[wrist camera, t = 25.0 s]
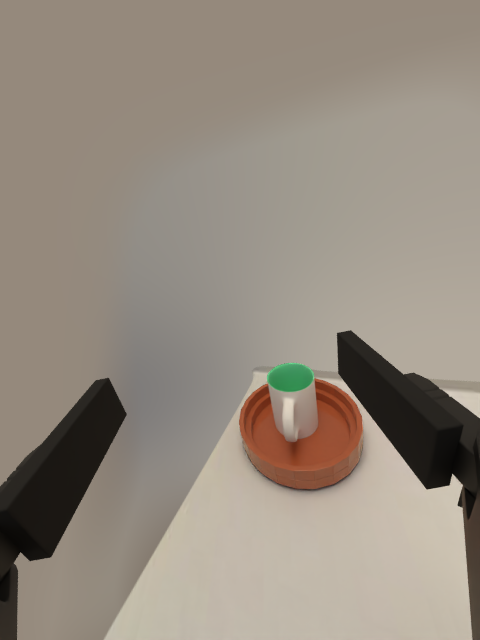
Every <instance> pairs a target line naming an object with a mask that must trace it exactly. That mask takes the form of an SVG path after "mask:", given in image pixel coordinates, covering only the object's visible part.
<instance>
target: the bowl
mask: <svg viewBox="0 0 480 640" xmlns="http://www.w3.org/2000/svg"><path fill="white" fill-rule="evenodd" d="M314 380H315V391H316V402H317V413H318V427H317V429H316V431H315V432H314V433H313V434H312V435H310V436H309V437H306V438H302V439H297V441H296V442H289V441H286V440H285V437H284V435H283V434H281V433H280V432H279V431H278V429H277V428H276V425H275V420H274V414H273V409H272V404H271V398H270V393H269V387H268V383H267V384H265V385H263V386H261V387H260V388H259V389H257V390H256V391H254V392H253V393H252V394H251V395H250V397H249V398H248V399H247V400H246V401H245V403H244V405H243V407H242V409H241V414H240V420H239V425H240V431H241V436H242V440H243V444H244V447H245V451H246V453H247V455H248V456H249V458H250V460H251V462H252V463H253V465H254V466H255V467H256V468H257V469H258V470H259V471H260V472H261V473H262V474H263V475H265V476H266V477H268V478H270V479H271V480H273V481H275V482H276V483H279V484H282V485H285V486H289V487H292V488H296V489H318V488H321V487H325V486H329V485H332V484H335V483H336V482H338V481H340V480H341V479H343V478H344V477H346V476H347V475H349V474H350V472H351V471H352V470H353V468H354V467H355V466H356V464H357V463H358V462H359V459H360V455H361V452H362V449H363V425H362V416H361V414H360V411H359V409H358V407H357V405H356V403H355V402H354V401H353V400H352V399H351V398H350V396H349V395H348V394H347V393H345V392H344V391H342V390H341V389H340V388H338V387H337V386H335V385H332V384H330V383H328V382H326V381H323V380H319V379H315V378H314Z"/></svg>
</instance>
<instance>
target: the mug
mask: <svg viewBox="0 0 480 640" xmlns="http://www.w3.org/2000/svg"><path fill="white" fill-rule="evenodd" d="M267 382H268V387H269V393H270V398H271V404H272V409H273V414H274V420H275V425H276V428H277V429H278V431H279V432H280V433H281V434H283V435H284V437H285V440H286V441H289V442H296V441H297V439H302V438H306V437H309V436H310V435H312V434H313V433H314V432H315V431H316V429H317V427H318V413H317V402H316V391H315V380H314V373H313V371H312V370H311V369H310V368H309V367H307V366H305V365H302V364H298V363H286V364H281V365H278V366H276V367H274V368H273V369H272V370H271V371H270V372H269V373H268V375H267Z"/></svg>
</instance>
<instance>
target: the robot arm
mask: <svg viewBox="0 0 480 640" xmlns="http://www.w3.org/2000/svg"><path fill="white" fill-rule="evenodd" d="M337 345H338V374H339V375H340V376H341V378H342V379H343V380H344V382H345V383H346V384H347V386H348V387H349V388H350V389H351V391H352V392H353V393H354V395H355V396H356V397H357V399H358V400H359V401H360V403H361V404H362V405H363V407H364V408H365V409H366V410H367V412H368V413H369V414H370V416H371V417H372V418H373V420H374V421H375V422H376V424H377V425H378V426H379V428H380V429H381V430H382V431H383V433H384V434H385V435H386V437H387V438H388V439H389V441H390V442H391V443H392V445H393V446H394V447H395V449H396V450H397V451H398V452H399V454H400V455H401V456H402V458H403V459H404V460H405V462H406V463H407V464H408V466H409V467H410V468H411V470H412V471H413V472H414V473H415V475H416V476H417V477H418V479H419V480H420V481H421V483H422V484H423V485H424V487H425V488H426V489H432V488H438V487H443V486H449V485H450V481H451V477H452V474H453V475H454V476H455V477H456V478H457V479H458V480H459V481H460V482H461V483H462V484H463V487H462V490H461V494H460V498H459V502H458V506H460V507H462V506H463V518H464V532H465V545H466V558H467V572H468V585H469V598H470V612H471V625H472V638H473V640H480V418H478V417H477V416H476V415H474V414H473V413H472V412H470V411H469V410H468V409H467V408H465V407H464V406H463V405H461V404H460V403H459V402H457V401H456V400H455V399H453V398H452V397H449V395H448V394H447V393H445V392H444V391H443V390H440V389H439V387H437V386H436V385H435V384H434V383H432V382H431V381H430V380H428V379H426V378H424V377H422V376H420V375H417V374H415V373H409V374H404V375H403V374H402V373H401V372H400V371H399V370H397V369H396V368H395V367H394V366H392V365H391V364H390V363H389V362H388V361H386V360H385V359H384V358H383V357H382V356H381V355H379V354H378V353H377V352H376V351H374V350H373V349H372V348H371V347H370V346H369V345H367V344H366V343H365V342H364V341H363V340H361V339H360V338H359V337H358V336H357V335H356V334H354V333H353V332H352V331H346V332H341V333H337ZM125 417H126V412H125V410H124V408H123V406H122V404H121V402H120V400H119V398H118V396H117V394H116V392H115V390H114V388H113V386H112V384H111V382H110V380H109V378H105V379H100V380H96V381H95V382H94V383H93V384H92V385H91V387H90V388H89V389H88V390H87V391H86V393H85V394H84V395H83V396H82V397H81V398H80V399H79V401H78V402H77V403H76V404H75V405H74V407H73V408H72V409H71V410H70V411H69V413H68V414H67V415H66V416H65V417H64V418H63V420H62V421H61V422H60V423H59V424H58V426H57V427H56V428H55V429H54V430H53V431H52V432H51V434H50V435H49V436H48V437H47V438H46V440H45V441H44V442H43V443H42V444H41V445H40V446H38V447H37V448H36V449H35V450H34V451H32V452H31V453H30V454H29V455H28V456H27V457H26V458H25V459H24V460H23V461H22V462H21V463H20V465H19V466H18V467H17V468H16V471H13V473H12V474H11V475H10V476H9V477H8V478H7V481H6V482H4V483H3V484H2V485H1V486H0V640H17V594H18V593H17V592H18V589H17V588H18V570H17V567H16V565H15V564H14V561H15V560H16V558H17V557H18V555H19V553H20V552H21V553H22V554H23V555H24V556H25V557H26V558H27V559H28V560H29V561H33V560H39V559H44V558H50V557H51V556H52V555H53V553H54V551H55V549H56V547H57V545H58V543H59V541H60V539H61V537H62V536H63V534H64V532H65V530H66V528H67V526H68V524H69V522H70V521H71V519H72V517H73V515H74V513H75V511H76V509H77V507H78V505H79V504H80V502H81V500H82V498H83V496H84V494H85V492H86V490H87V489H88V487H89V485H90V483H91V481H92V479H93V477H94V475H95V473H96V471H97V470H98V468H99V466H100V464H101V462H102V460H103V458H104V456H105V455H106V453H107V451H108V449H109V447H110V445H111V443H112V441H113V439H114V437H115V436H116V434H117V432H118V430H119V428H120V426H121V424H122V422H123V421H124V419H125Z"/></svg>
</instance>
